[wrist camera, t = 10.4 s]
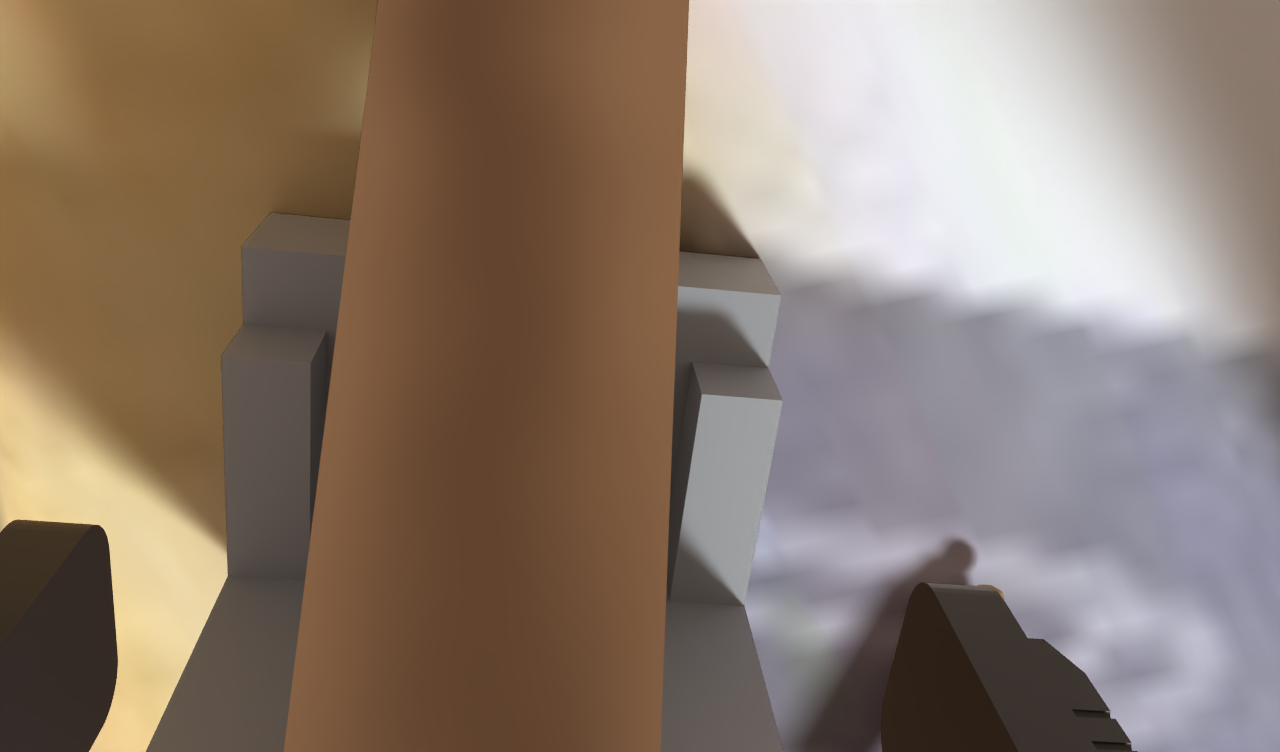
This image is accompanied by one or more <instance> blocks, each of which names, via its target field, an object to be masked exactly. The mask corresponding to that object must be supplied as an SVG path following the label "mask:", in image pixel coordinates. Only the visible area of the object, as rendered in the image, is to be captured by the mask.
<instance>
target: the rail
mask: <svg viewBox="0 0 1280 752" xmlns="http://www.w3.org/2000/svg"><path fill="white" fill-rule="evenodd" d="M688 12H689V0H378V6H377V14H376V22H375V30H374V37H373V45H372V53H371V61H370V69H369V77H368V85H367V93H366V101H365V109H364V117H363V125H362V133H361V141H360V149H359V157H358V165H357V173H356V180H355V188H354V196H353V204H352V212H351V220H350V228H349V236H348V244H347V252H346V260H345V268H344V276H343V284H342V292H341V300H340V308H339V315H338V323H337V331H336V339H335V347H334V355H333V363H332V371H331V379H330V387H329V395H328V403H327V411H326V419H325V427H324V435H323V443H322V450H321V458H320V466H319V474H318V482H317V490H316V498H315V506H314V514H313V522H312V530H311V538H310V546H309V554H308V562H307V570H306V578H305V586H304V593H303V601H302V609H301V617H300V625H299V633H298V641H297V649H296V657H295V665H294V673H293V681H292V689H291V697H290V705H289V713H288V721H287V728H286V736H285V744H284V752H660V746H661V720H662V694H663V668H664V641H665V615H666V589H667V563H668V536H669V510H670V484H671V458H672V432H673V405H674V379H675V353H676V327H677V300H678V274H679V248H680V222H681V196H682V169H683V143H684V117H685V91H686V64H687V38H688Z"/></svg>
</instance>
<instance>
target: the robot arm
mask: <svg viewBox="0 0 1280 752" xmlns="http://www.w3.org/2000/svg"><path fill="white" fill-rule="evenodd" d="M117 666H118V656H117V642H116V629H115V616H114V603H113V591H112V578H111V565H110V552H109V543H108V539H107V536H106V533H105V531H104V529H103V528H102V527H101V526H99V525H90V524H75V523H60V522H46V521H31V520H14V521H12V522H11V523H9V524H8V525H7V526H6V527H5V528H4V529H3V530H2V531H1V532H0V752H89V750H90V749H91V747H92V745H93V743H94V741H95V739H96V738H97V736H98V734H99V732H100V730H101V729H102V727H103V725H104V723H105V720H106V718H107V715H108V713H109V710H110V707H111V703H112V699H113V695H114V690H115V685H116V678H117ZM881 744H882V751H883V752H1137V751H1132V749H1131V744H1132V743H1131V741H1130V740H1129V738H1128V737H1127V735H1126V734H1125V732H1124V731H1123V729H1122V728H1121V726H1120V725H1119V723H1118V722H1117V720H1116V719H1111V718H1110V710H1109V708H1108V707H1107V705H1106V704H1105V702H1104V701H1103V699H1102V698H1101V696H1100V695H1099V693H1098V692H1097V690H1096V689H1095V687H1094V686H1093V684H1092V683H1091V682H1090V680H1089V679H1088V677H1087V676H1086V674H1085V673H1084V672H1083V671H1082V670H1080V669H1079V668H1078V667H1077V666H1076V665H1074V664H1073V663H1072V662H1071V661H1069V660H1068V659H1067V658H1066V657H1065V656H1063V655H1062V654H1061V653H1060V652H1059V651H1057V650H1056V649H1055V648H1054V647H1052V646H1051V645H1050V644H1049V643H1048V642H1046V641H1045V640H1044V639H1030V638H1027V637H1026V635H1025V633H1024V632H1023V630H1022V629H1021V627H1020V625H1019V624H1018V622H1017V621H1016V619H1015V617H1014V616H1013V614H1012V612H1011V611H1010V609H1009V608H1008V606H1007V604H1006V603H1005V601H1004V600H1003V598H1002V596H1001V595H1000V594H999V592H998V591H997V590H995V589H994V588H992V587H982V586H967V585H952V584H937V583H920V584H918V585H917V586H916V587H915V589H914V590H913V592H912V594H911V597H910V599H909V603H908V606H907V610H906V614H905V618H904V622H903V626H902V630H901V634H900V638H899V641H898V645H897V649H896V653H895V657H894V661H893V665H892V669H891V673H890V677H889V681H888V685H887V688H886V692H885V696H884V701H883V705H882V713H881Z"/></svg>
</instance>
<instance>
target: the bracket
mask: <svg viewBox="0 0 1280 752" xmlns="http://www.w3.org/2000/svg"><path fill="white" fill-rule="evenodd" d="M349 228H350V220H343V219H333V218H322V217H312V216H301V215H290V214H280V213H270V214H269V215H268V216H267V217H266V218H265V219H264V221H263V222H262V223H261V224H260V225H259V226H258V228H257V229H256V230H255V231H254V232H253V234H252V235H251V236H250V237H249V238H248V239H247V241H246V242H245V243H244V244H243V245H242V246H241V248H242V293H243V325H242V327H241V328H240V330H239V331H238V332H237V334H236V335H235V337H234V338H233V340H232V341H231V342H230V344H229V345H228V347H227V348H226V350H225V351H224V352H223V354H222V355H221V366H222V399H223V432H224V464H225V497H226V530H227V562H228V577H227V579H226V581H225V583H224V586H223V588H222V590H221V592H220V594H219V596H218V598H217V601H216V603H215V605H214V607H213V609H212V611H211V613H210V616H209V618H208V620H207V622H206V624H205V626H204V628H203V630H202V633H201V635H200V637H199V639H198V641H197V643H196V645H195V648H194V650H193V652H192V654H191V656H190V658H189V660H188V663H187V665H186V667H185V669H184V671H183V673H182V675H181V678H180V680H179V682H178V684H177V686H176V688H175V690H174V693H173V695H172V697H171V699H170V701H169V703H168V705H167V708H166V710H165V712H164V714H163V716H162V718H161V720H160V723H159V725H158V727H157V729H156V731H155V733H154V735H153V737H152V740H151V742H150V744H149V746H148V748H147V750H146V752H284V744H285V736H286V728H287V721H288V713H289V705H290V697H291V689H292V681H293V673H294V665H295V657H296V649H297V641H298V633H299V625H300V617H301V609H302V601H303V593H304V586H305V578H306V570H307V562H308V554H309V546H310V538H311V530H312V522H313V514H314V506H315V498H316V490H317V482H318V474H319V466H320V458H321V450H322V443H323V435H324V427H325V419H326V411H327V403H328V395H329V387H330V379H331V371H332V363H333V355H334V347H335V339H336V331H337V323H338V315H339V308H340V300H341V292H342V284H343V276H344V268H345V260H346V252H347V244H348V236H349ZM780 300H781V294H780V292H779V290H778V289H777V287H776V285H775V283H774V281H773V280H772V278H771V276H770V274H769V273H768V271H767V269H766V267H765V265H764V264H763V262H762V260H761V259H756V258H745V257H735V256H724V255H714V254H703V253H692V252H682V251H679V274H678V300H677V327H676V353H675V379H674V405H673V432H672V458H671V484H670V510H669V536H668V563H667V589H666V615H665V641H664V668H663V694H662V720H661V746H660V752H783V748H782V745H781V741H780V737H779V733H778V730H777V726H776V722H775V719H774V715H773V711H772V707H771V704H770V700H769V696H768V692H767V689H766V685H765V681H764V677H763V674H762V670H761V666H760V663H759V659H758V655H757V651H756V648H755V644H754V640H753V636H752V633H751V629H750V625H749V621H748V618H747V614H746V610H745V607H744V605H745V600H746V595H747V589H748V584H749V579H750V573H751V568H752V563H753V557H754V552H755V547H756V541H757V536H758V531H759V525H760V520H761V515H762V509H763V504H764V499H765V494H766V488H767V483H768V478H769V472H770V467H771V462H772V456H773V451H774V446H775V440H776V435H777V430H778V424H779V419H780V414H781V408H782V403H783V400H782V397H781V395H780V393H779V391H778V388H777V386H776V384H775V382H774V380H773V377H772V375H771V373H770V371H769V368H768V367H769V361H770V356H771V350H772V345H773V339H774V334H775V328H776V322H777V317H778V311H779V306H780Z"/></svg>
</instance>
